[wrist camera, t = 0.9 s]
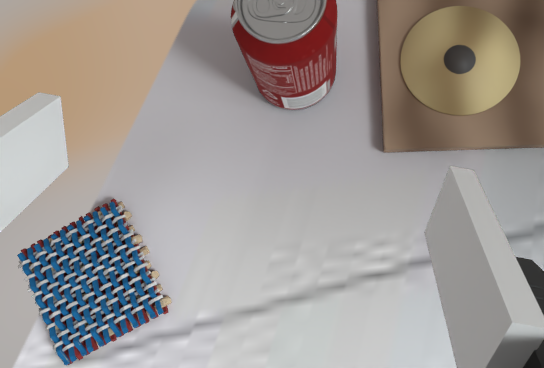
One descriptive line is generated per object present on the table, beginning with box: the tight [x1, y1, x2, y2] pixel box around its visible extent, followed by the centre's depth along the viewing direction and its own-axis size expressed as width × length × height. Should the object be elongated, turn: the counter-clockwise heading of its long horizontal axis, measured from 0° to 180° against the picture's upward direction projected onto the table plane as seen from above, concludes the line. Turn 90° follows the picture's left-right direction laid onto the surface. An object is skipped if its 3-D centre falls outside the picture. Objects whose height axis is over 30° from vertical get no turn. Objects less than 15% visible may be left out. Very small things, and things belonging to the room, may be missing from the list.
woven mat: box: [18, 199, 172, 365], centre depth 39 cm, size 10×11×2 cm
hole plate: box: [377, 0, 544, 153], centre depth 37 cm, size 22×14×1 cm, turn 90°
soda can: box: [231, 0, 337, 110], centre depth 34 cm, size 7×7×12 cm
